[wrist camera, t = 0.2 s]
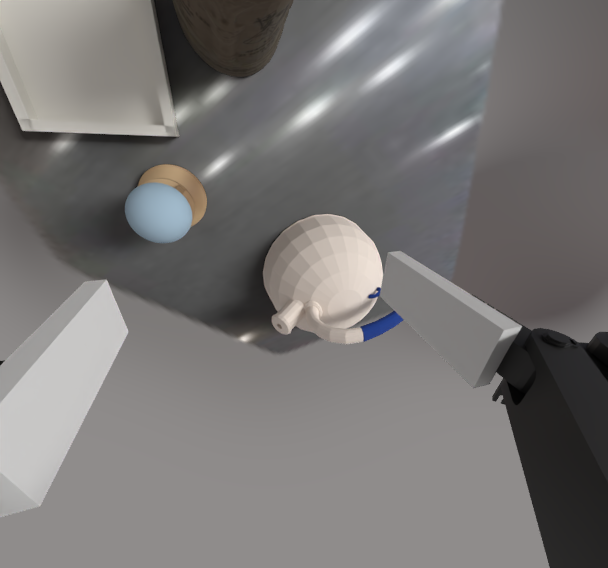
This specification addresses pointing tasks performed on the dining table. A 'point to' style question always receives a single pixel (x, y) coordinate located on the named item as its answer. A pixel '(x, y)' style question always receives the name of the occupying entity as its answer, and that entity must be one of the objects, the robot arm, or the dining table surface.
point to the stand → (180, 186)
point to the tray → (86, 67)
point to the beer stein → (233, 31)
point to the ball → (158, 212)
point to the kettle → (325, 280)
